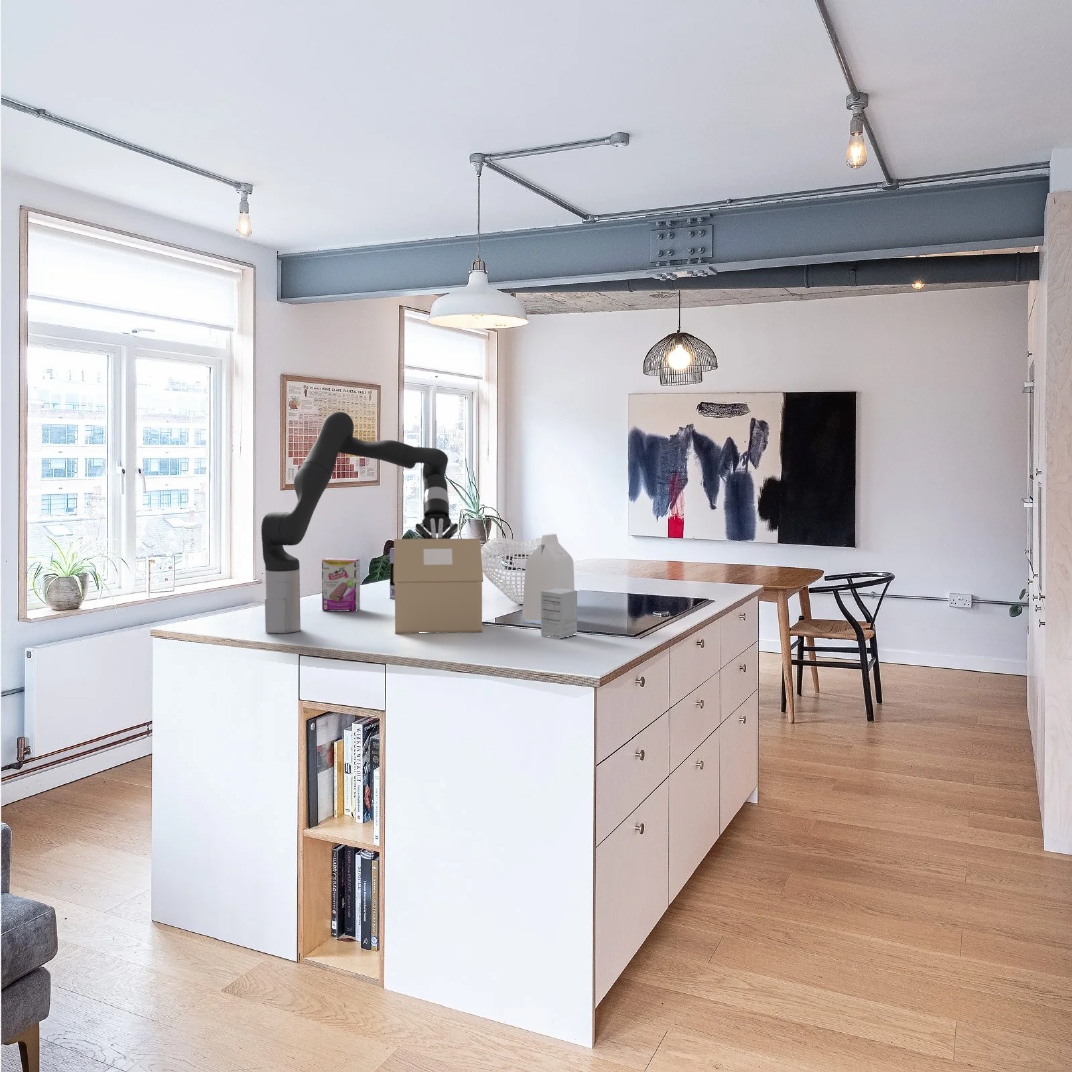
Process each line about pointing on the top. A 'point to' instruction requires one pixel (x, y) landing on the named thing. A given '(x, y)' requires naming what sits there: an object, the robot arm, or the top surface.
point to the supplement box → (558, 612)
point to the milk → (546, 574)
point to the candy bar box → (340, 584)
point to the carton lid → (437, 560)
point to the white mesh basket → (485, 571)
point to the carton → (438, 607)
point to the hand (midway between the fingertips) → (437, 551)
